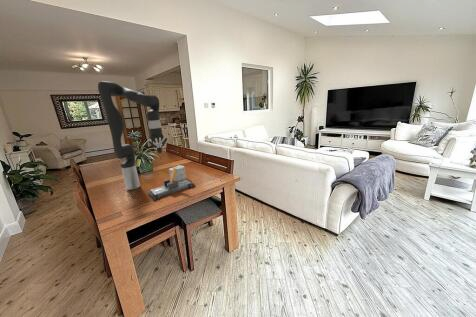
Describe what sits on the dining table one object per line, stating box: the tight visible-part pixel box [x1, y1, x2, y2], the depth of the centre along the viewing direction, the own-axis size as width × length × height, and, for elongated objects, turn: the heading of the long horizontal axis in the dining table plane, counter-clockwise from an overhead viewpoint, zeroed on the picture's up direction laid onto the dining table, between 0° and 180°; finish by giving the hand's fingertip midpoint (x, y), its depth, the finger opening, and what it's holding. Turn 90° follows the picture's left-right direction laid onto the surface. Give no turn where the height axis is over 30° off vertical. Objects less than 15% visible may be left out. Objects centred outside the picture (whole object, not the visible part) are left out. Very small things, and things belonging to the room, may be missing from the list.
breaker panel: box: [149, 178, 192, 198], centre depth 136 cm, size 10×26×7 cm, turn 129°
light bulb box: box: [168, 164, 187, 181], centre depth 153 cm, size 11×7×11 cm, turn 145°
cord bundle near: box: [147, 190, 161, 201], centre depth 129 cm, size 15×4×2 cm, turn 39°
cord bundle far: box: [187, 179, 196, 189], centre depth 144 cm, size 15×4×2 cm, turn 39°
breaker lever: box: [169, 167, 177, 182], centre depth 135 cm, size 4×2×13 cm, turn 39°
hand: (159, 152), depth 129 cm, fingers closed
